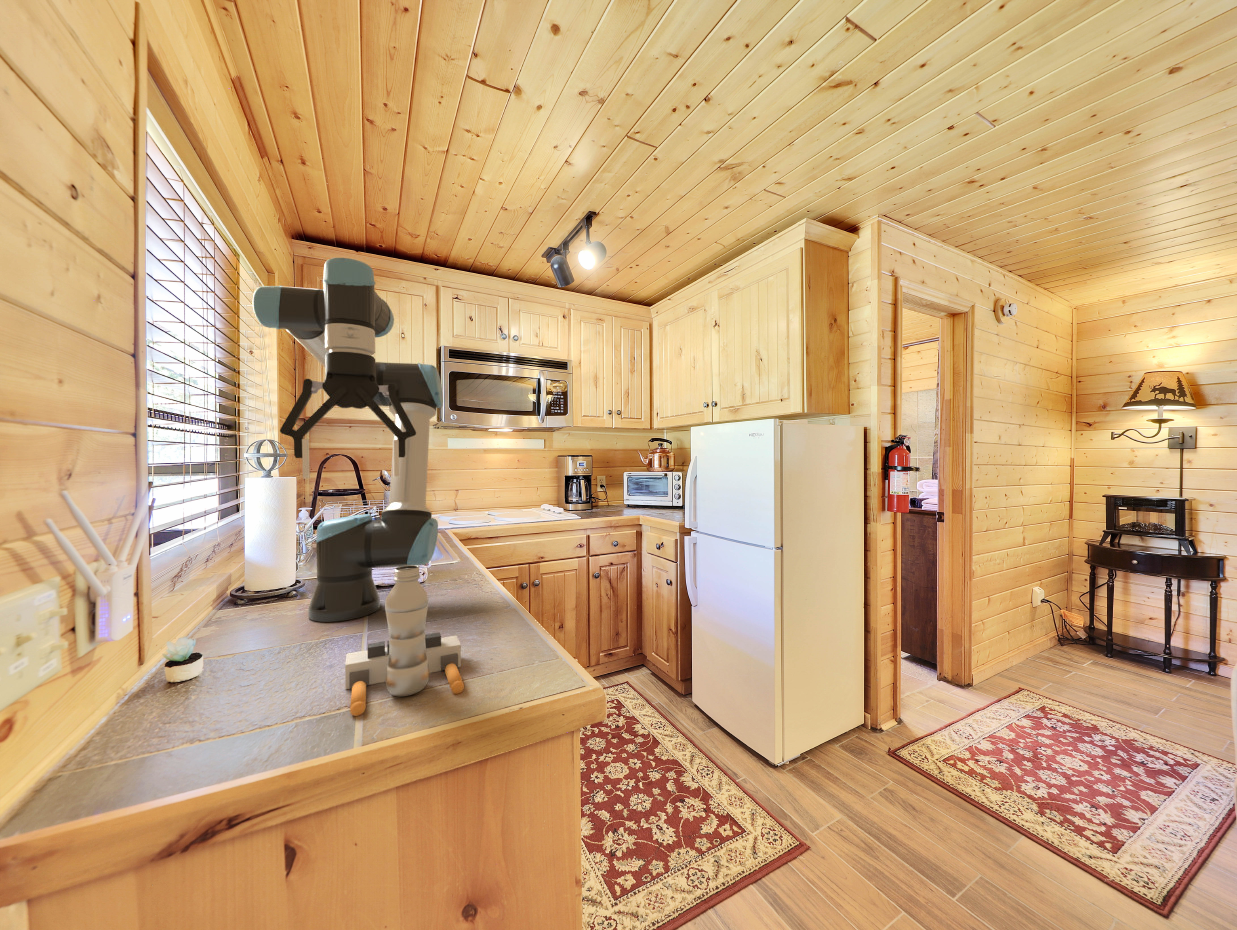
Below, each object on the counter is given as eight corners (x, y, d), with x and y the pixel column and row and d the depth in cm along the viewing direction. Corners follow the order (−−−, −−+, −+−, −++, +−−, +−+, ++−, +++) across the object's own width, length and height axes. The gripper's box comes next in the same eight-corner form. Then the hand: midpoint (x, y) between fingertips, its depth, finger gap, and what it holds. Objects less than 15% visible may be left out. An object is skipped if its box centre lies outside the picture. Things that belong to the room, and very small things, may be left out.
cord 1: (352, 692, 76) (352, 680, 76) (366, 689, 77) (366, 677, 77) (349, 720, 68) (349, 706, 68) (365, 716, 69) (365, 703, 69)
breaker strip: (347, 676, 81) (346, 643, 81) (456, 656, 89) (456, 625, 89) (345, 691, 76) (344, 655, 76) (461, 668, 84) (461, 636, 84)
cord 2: (444, 674, 82) (444, 662, 82) (456, 671, 83) (456, 660, 83) (451, 697, 74) (451, 684, 74) (464, 694, 75) (464, 682, 75)
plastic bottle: (438, 683, 79) (437, 564, 78) (412, 704, 72) (411, 573, 72) (403, 680, 80) (402, 562, 80) (375, 700, 73) (374, 571, 73)
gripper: (256, 341, 72) (260, 480, 73) (431, 357, 84) (432, 476, 85) (264, 350, 78) (267, 477, 79) (425, 363, 91) (426, 473, 92)
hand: (353, 477), depth 82 cm, fingers open, 13 cm apart
